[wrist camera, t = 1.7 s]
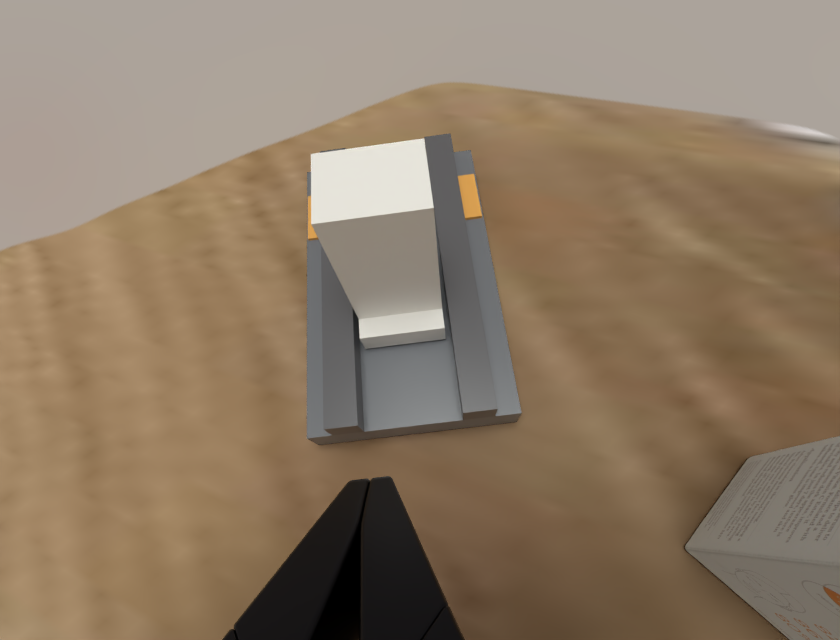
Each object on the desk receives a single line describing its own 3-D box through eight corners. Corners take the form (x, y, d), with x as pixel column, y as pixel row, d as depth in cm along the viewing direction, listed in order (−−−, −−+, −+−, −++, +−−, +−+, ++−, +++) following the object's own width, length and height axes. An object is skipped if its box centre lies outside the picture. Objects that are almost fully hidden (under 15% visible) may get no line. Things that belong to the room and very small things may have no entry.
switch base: (516, 421, 23) (525, 405, 19) (318, 445, 23) (296, 432, 20) (469, 173, 29) (471, 130, 26) (316, 193, 30) (299, 154, 26)
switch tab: (445, 339, 22) (437, 233, 14) (365, 348, 23) (311, 250, 14) (434, 253, 24) (421, 117, 16) (360, 262, 25) (310, 133, 16)
